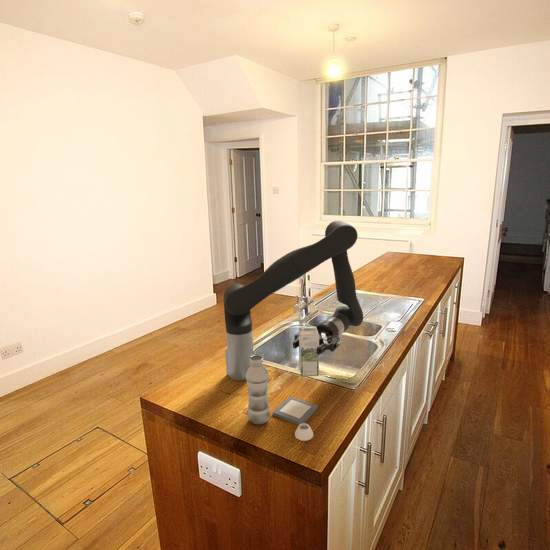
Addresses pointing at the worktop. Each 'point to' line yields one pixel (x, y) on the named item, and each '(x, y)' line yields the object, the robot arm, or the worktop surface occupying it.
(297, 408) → the plate
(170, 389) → the worktop surface
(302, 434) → the white jar
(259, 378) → the plastic bottle
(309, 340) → the syrup box
